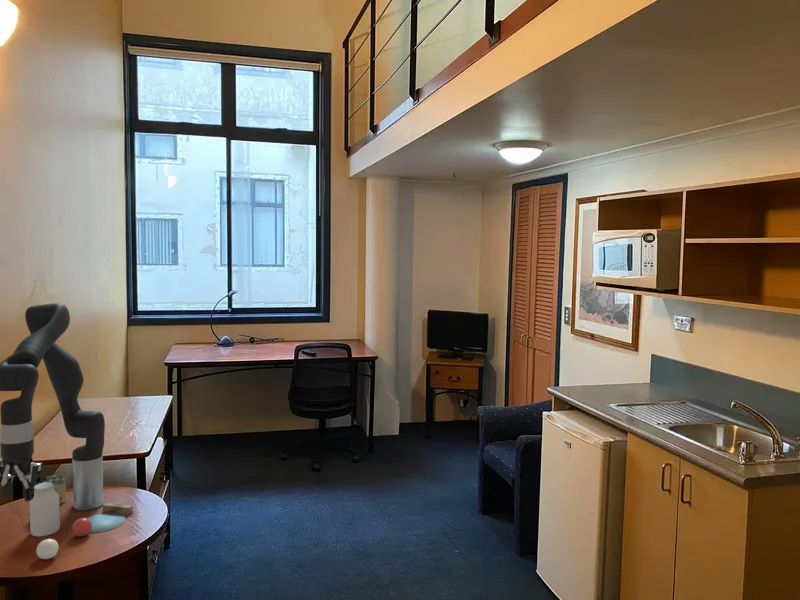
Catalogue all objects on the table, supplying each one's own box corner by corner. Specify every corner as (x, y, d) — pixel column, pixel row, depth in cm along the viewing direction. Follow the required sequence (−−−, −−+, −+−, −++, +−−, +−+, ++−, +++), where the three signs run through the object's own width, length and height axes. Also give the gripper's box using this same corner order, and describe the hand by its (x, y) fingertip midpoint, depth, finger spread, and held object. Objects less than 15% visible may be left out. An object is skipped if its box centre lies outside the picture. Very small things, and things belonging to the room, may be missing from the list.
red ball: (70, 534, 185) (70, 517, 185) (89, 529, 189) (89, 513, 188) (74, 541, 181) (73, 524, 181) (94, 536, 185) (93, 519, 184)
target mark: (73, 520, 195) (73, 520, 195) (119, 509, 204) (119, 509, 204) (82, 537, 184) (82, 536, 184) (130, 524, 193) (130, 524, 193)
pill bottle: (26, 538, 182) (25, 491, 181) (35, 526, 190) (34, 481, 189) (55, 535, 184) (54, 489, 183) (63, 524, 192) (61, 479, 191)
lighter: (43, 507, 204) (42, 479, 204) (42, 503, 207) (41, 475, 207) (66, 502, 209) (66, 474, 208) (65, 498, 212) (64, 471, 211)
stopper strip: (102, 512, 202) (102, 505, 201) (106, 509, 204) (106, 502, 203) (129, 515, 200) (129, 508, 200) (132, 512, 202) (132, 505, 201)
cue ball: (35, 557, 172) (34, 538, 171) (56, 551, 175) (56, 533, 175) (38, 565, 167) (37, 546, 167) (60, 559, 171) (60, 540, 170)
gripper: (-19, 440, 157) (-16, 502, 158) (29, 444, 154) (31, 507, 155) (5, 432, 164) (7, 491, 165) (51, 436, 161) (52, 496, 163)
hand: (18, 498), depth 160 cm, fingers open, 5 cm apart
